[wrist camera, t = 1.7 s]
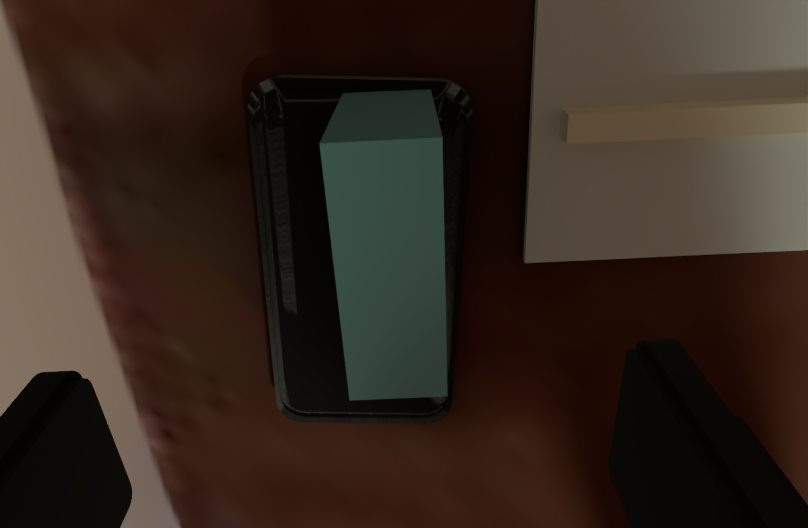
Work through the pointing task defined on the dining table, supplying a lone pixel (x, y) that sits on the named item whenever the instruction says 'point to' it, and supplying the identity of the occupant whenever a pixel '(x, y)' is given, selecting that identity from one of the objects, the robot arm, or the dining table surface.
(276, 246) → the phone
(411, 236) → the teal rectangular block
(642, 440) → the robot arm
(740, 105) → the slot mat
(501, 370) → the dining table surface
